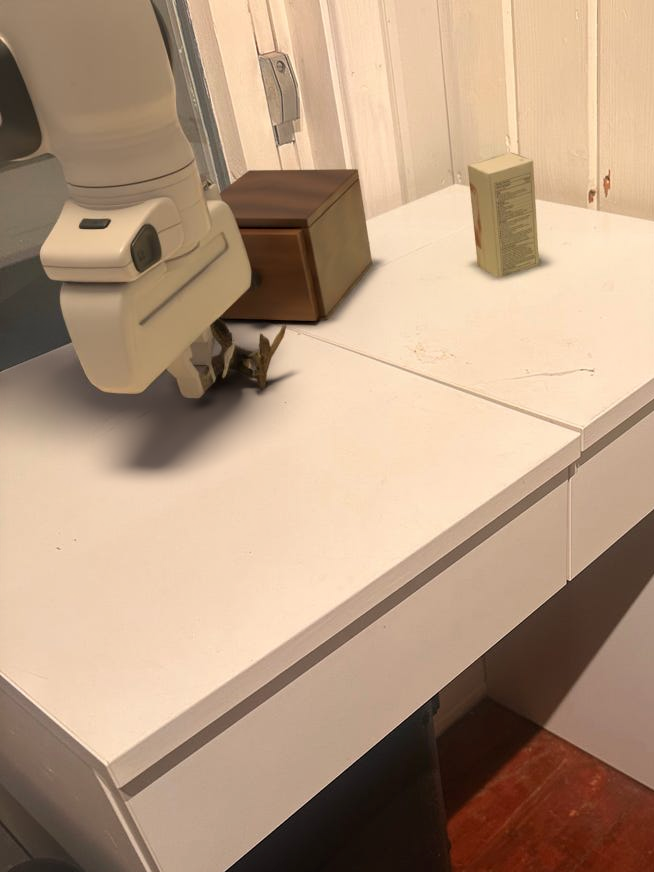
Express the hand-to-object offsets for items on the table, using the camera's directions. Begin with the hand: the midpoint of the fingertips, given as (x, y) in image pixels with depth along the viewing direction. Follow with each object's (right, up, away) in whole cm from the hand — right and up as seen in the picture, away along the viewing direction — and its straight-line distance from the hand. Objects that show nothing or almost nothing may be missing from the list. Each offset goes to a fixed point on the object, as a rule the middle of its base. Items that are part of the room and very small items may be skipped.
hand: (200, 390), depth 74 cm
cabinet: (+4, +14, +17) cm, 23 cm away
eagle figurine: (+2, +2, +4) cm, 5 cm away
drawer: (+4, +13, +15) cm, 21 cm away
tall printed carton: (+26, +17, +18) cm, 35 cm away
